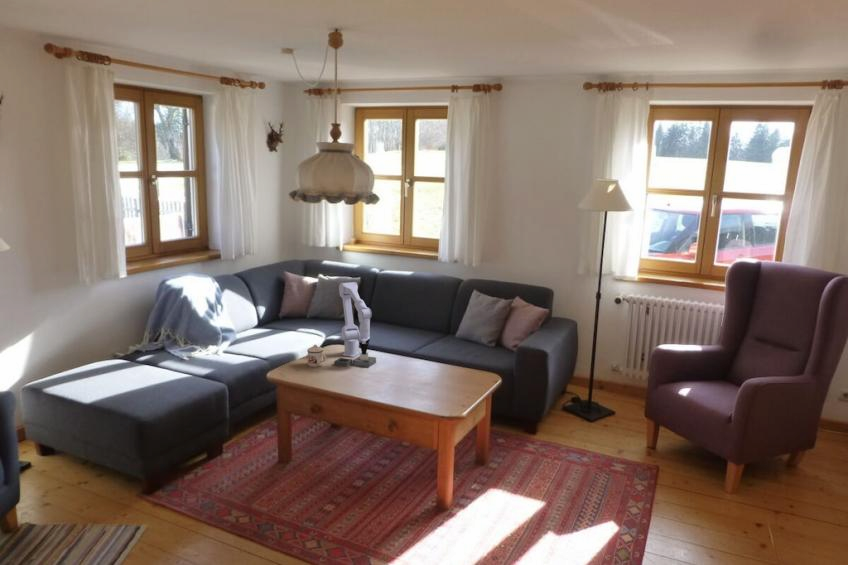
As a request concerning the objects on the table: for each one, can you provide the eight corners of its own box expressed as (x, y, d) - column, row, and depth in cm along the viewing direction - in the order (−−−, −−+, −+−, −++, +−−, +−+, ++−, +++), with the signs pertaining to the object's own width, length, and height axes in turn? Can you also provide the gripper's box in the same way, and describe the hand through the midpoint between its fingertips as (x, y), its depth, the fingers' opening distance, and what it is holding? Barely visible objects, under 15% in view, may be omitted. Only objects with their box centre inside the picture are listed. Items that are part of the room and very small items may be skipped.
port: (360, 360, 363) (360, 354, 362) (376, 362, 359) (376, 357, 358) (352, 365, 353) (352, 359, 353) (368, 367, 350) (368, 362, 349)
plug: (360, 363, 358) (360, 351, 356) (368, 363, 358) (368, 351, 356) (360, 364, 355) (360, 353, 353) (367, 364, 355) (368, 353, 354)
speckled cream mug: (304, 365, 352) (303, 345, 349) (314, 361, 359) (314, 341, 357) (320, 369, 346) (320, 349, 344) (330, 364, 354) (330, 345, 351)
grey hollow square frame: (340, 361, 359) (340, 357, 359) (352, 363, 356) (352, 359, 356) (334, 365, 353) (334, 361, 352) (346, 367, 350) (346, 362, 349)
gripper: (358, 326, 359) (358, 348, 362) (356, 332, 345) (356, 356, 348) (370, 326, 360) (370, 348, 362) (369, 333, 345) (369, 356, 348)
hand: (364, 352), depth 355 cm, fingers open, 7 cm apart
